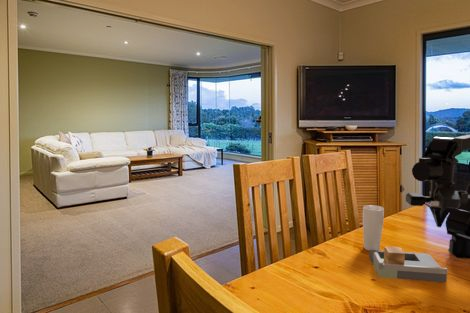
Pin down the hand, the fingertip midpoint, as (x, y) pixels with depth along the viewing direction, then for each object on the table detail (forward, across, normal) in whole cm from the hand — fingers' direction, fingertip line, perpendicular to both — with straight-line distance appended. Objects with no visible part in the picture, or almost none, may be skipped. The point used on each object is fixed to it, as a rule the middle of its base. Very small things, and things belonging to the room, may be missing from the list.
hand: (438, 226), depth 105 cm
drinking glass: (+12, -18, +8) cm, 23 cm away
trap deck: (+12, -11, -6) cm, 17 cm away
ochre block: (+9, -15, -9) cm, 20 cm away
